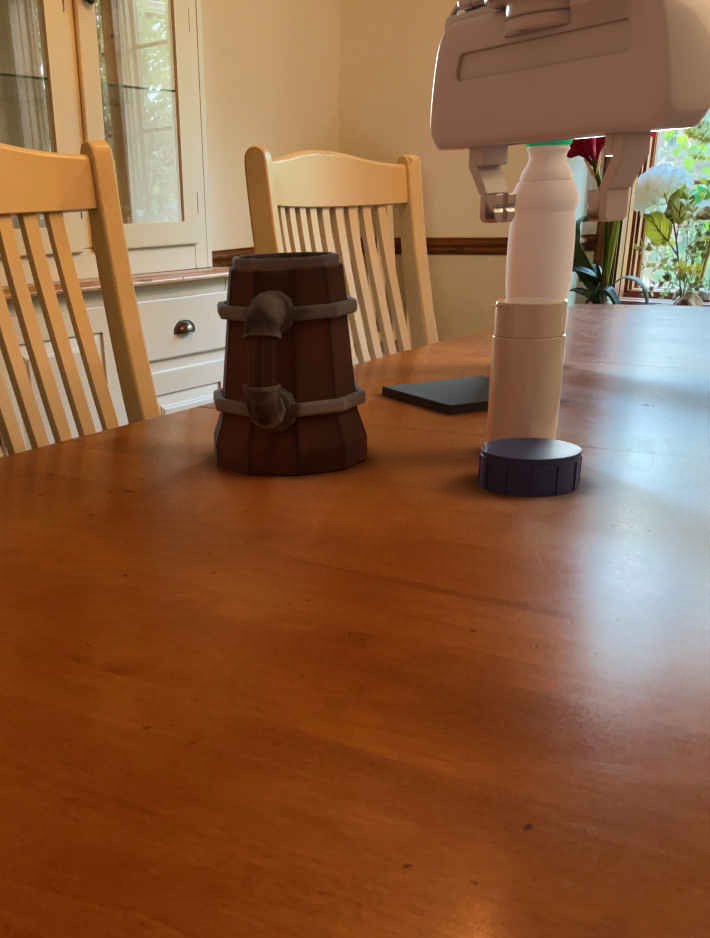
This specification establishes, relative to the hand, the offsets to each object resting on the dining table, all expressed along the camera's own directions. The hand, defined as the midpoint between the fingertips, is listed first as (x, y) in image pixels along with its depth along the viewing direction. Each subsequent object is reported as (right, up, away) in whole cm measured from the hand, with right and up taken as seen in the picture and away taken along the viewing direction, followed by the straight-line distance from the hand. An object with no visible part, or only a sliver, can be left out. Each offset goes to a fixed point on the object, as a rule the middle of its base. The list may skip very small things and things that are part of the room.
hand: (548, 222), depth 65 cm
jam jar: (+2, -12, +14) cm, 19 cm away
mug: (-16, -13, +14) cm, 25 cm away
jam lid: (0, -14, +5) cm, 15 cm away
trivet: (+3, -3, +36) cm, 36 cm away
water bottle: (+14, +4, +52) cm, 54 cm away
